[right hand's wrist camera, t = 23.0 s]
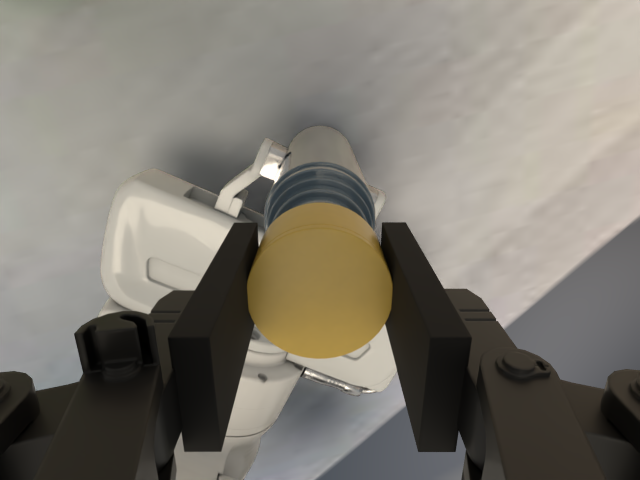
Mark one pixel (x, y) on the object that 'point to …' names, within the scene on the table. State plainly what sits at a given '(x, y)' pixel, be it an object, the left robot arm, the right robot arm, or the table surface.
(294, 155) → the bottle
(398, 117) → the table surface
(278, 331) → the cap
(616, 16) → the table surface
